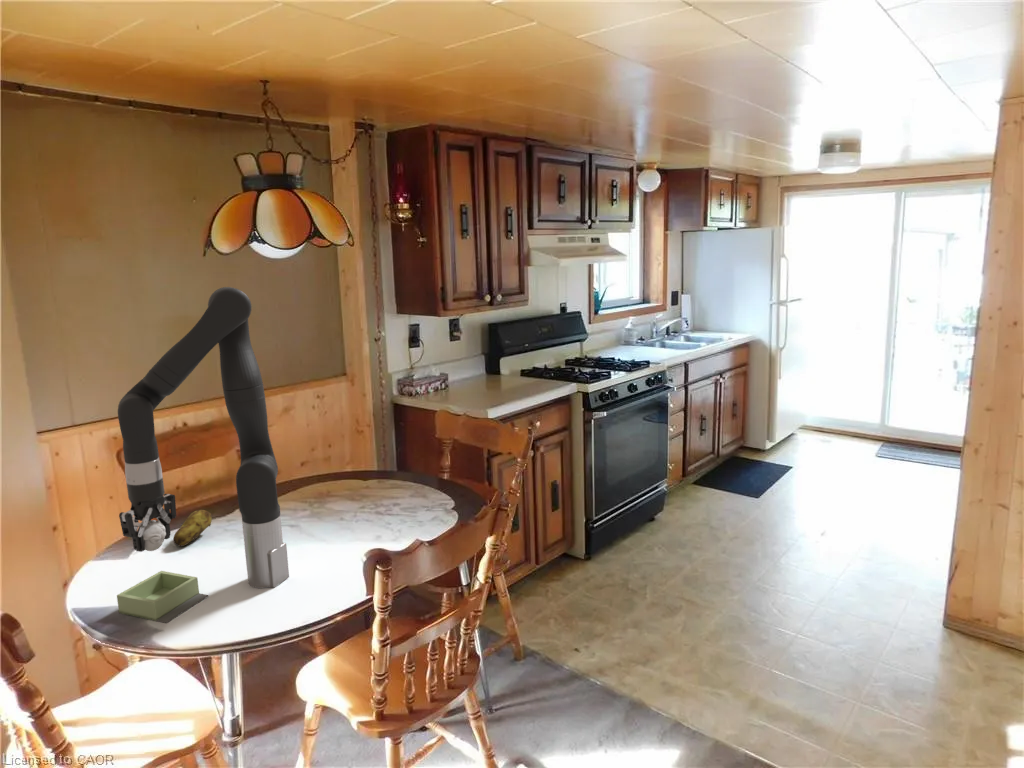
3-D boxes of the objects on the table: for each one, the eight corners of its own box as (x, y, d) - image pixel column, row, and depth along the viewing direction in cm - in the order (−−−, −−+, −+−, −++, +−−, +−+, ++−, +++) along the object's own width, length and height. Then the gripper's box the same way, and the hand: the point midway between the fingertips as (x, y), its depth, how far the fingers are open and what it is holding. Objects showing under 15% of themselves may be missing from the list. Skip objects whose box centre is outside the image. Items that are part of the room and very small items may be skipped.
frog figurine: (173, 542, 165) (169, 515, 164) (159, 555, 158) (155, 527, 157) (147, 543, 165) (144, 516, 164) (133, 556, 158) (129, 528, 157)
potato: (164, 544, 198) (161, 518, 197) (205, 529, 208) (203, 504, 207) (179, 551, 193) (176, 524, 192) (221, 535, 204) (218, 510, 202)
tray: (208, 596, 168) (206, 579, 167) (166, 623, 156) (164, 605, 155) (163, 587, 172) (161, 570, 172) (119, 613, 160) (116, 595, 160)
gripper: (130, 490, 151) (139, 559, 154) (181, 470, 164) (188, 534, 167) (105, 486, 153) (115, 555, 156) (157, 467, 166) (165, 530, 170)
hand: (153, 544), depth 162 cm, fingers closed on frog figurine, 6 cm apart
